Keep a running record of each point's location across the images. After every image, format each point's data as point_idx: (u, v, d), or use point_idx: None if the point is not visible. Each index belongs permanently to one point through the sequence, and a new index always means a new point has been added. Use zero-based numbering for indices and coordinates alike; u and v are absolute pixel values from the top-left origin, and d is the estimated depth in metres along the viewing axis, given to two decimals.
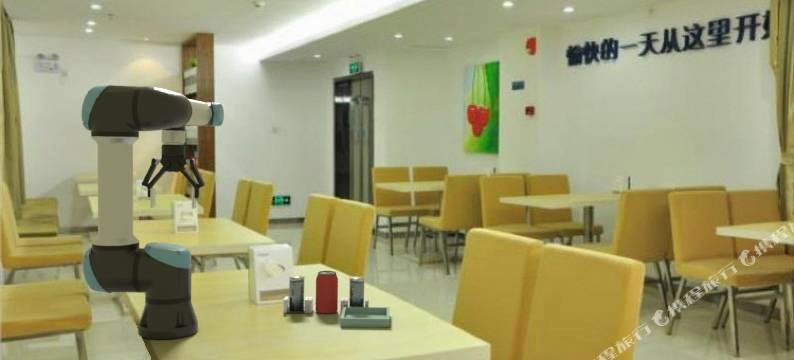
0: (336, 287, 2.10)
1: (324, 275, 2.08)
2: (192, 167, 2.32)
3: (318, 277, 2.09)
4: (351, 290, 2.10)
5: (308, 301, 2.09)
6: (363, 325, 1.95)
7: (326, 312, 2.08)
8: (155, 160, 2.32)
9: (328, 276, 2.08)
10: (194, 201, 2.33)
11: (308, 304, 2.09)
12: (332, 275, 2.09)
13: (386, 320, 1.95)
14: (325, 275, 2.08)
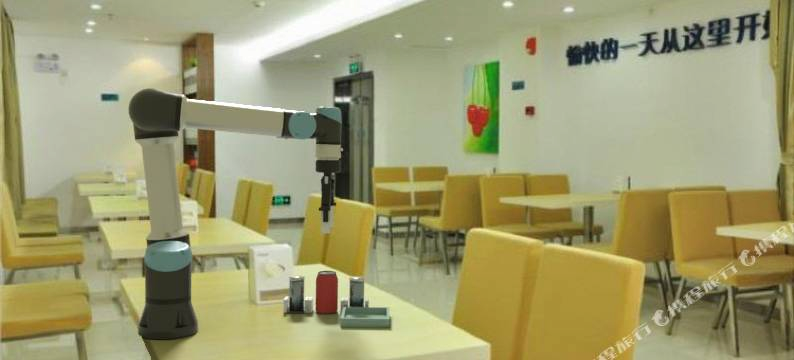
0: (336, 287, 2.10)
1: (324, 275, 2.08)
2: (322, 186, 2.03)
3: (318, 277, 2.09)
4: (351, 290, 2.10)
5: (308, 301, 2.09)
6: (363, 325, 1.95)
7: (326, 312, 2.08)
8: None
9: (328, 276, 2.08)
10: (322, 225, 2.03)
11: (308, 304, 2.09)
12: (332, 275, 2.09)
13: (386, 320, 1.95)
14: (325, 275, 2.08)
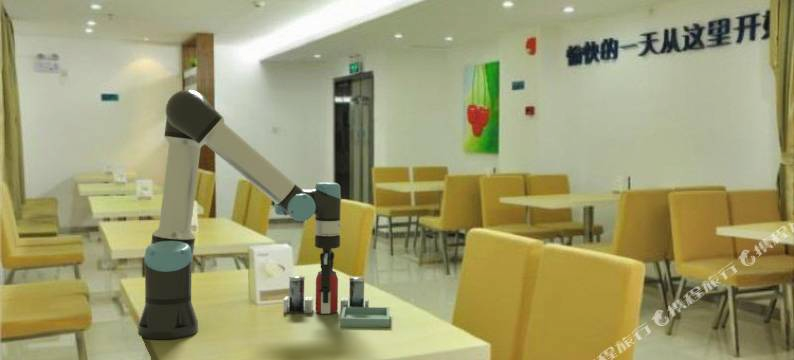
0: (336, 287, 2.10)
1: None
2: None
3: (318, 277, 2.09)
4: (351, 290, 2.10)
5: (308, 301, 2.09)
6: (363, 325, 1.95)
7: None
8: None
9: None
10: (322, 305, 2.07)
11: (308, 304, 2.09)
12: (332, 275, 2.09)
13: (386, 320, 1.95)
14: None
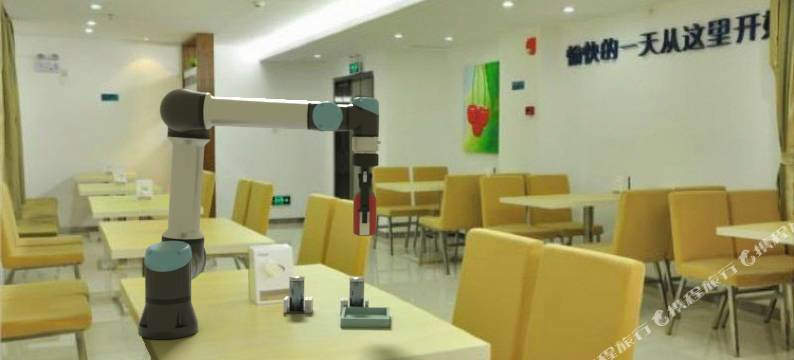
0: (375, 208, 2.00)
1: None
2: (360, 184, 1.94)
3: (356, 197, 1.99)
4: (351, 290, 2.10)
5: (308, 301, 2.09)
6: (363, 325, 1.95)
7: None
8: None
9: None
10: (361, 226, 1.97)
11: (308, 304, 2.09)
12: (371, 195, 1.98)
13: (386, 320, 1.95)
14: None
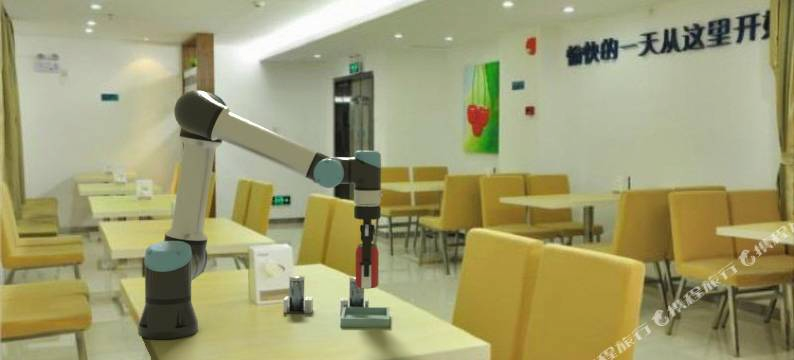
0: (377, 261, 2.00)
1: None
2: (362, 238, 1.95)
3: (358, 250, 1.99)
4: (351, 290, 2.10)
5: (308, 301, 2.09)
6: (363, 325, 1.95)
7: None
8: None
9: None
10: (363, 279, 1.97)
11: (308, 304, 2.09)
12: (373, 248, 1.98)
13: (386, 320, 1.95)
14: None
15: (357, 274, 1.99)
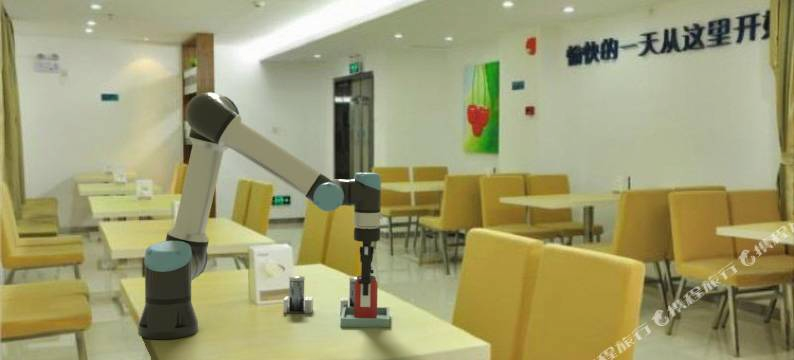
0: (376, 293, 2.01)
1: None
2: (361, 257, 1.94)
3: (357, 282, 2.00)
4: (351, 290, 2.10)
5: (308, 301, 2.09)
6: (363, 325, 1.95)
7: None
8: None
9: None
10: (362, 298, 1.94)
11: (308, 304, 2.09)
12: (372, 280, 1.99)
13: (386, 320, 1.95)
14: None
15: (356, 306, 2.00)
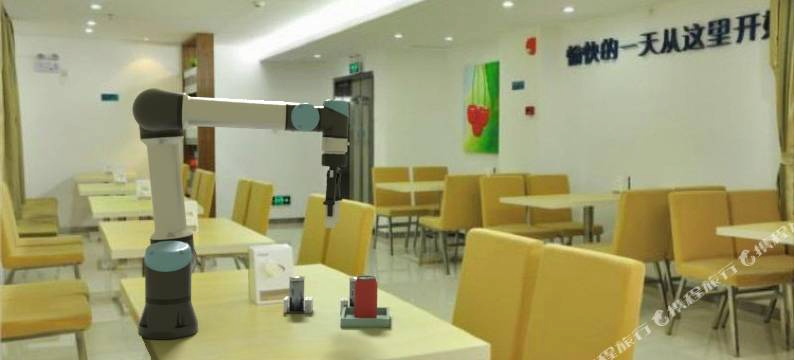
0: (376, 293, 2.00)
1: (364, 280, 1.99)
2: (327, 180, 2.00)
3: (357, 282, 2.00)
4: (351, 290, 2.10)
5: (308, 301, 2.09)
6: (363, 325, 1.95)
7: None
8: None
9: (368, 281, 1.99)
10: (327, 219, 2.00)
11: (308, 304, 2.09)
12: (372, 280, 1.99)
13: (386, 320, 1.95)
14: (365, 280, 1.99)
15: (356, 306, 2.00)
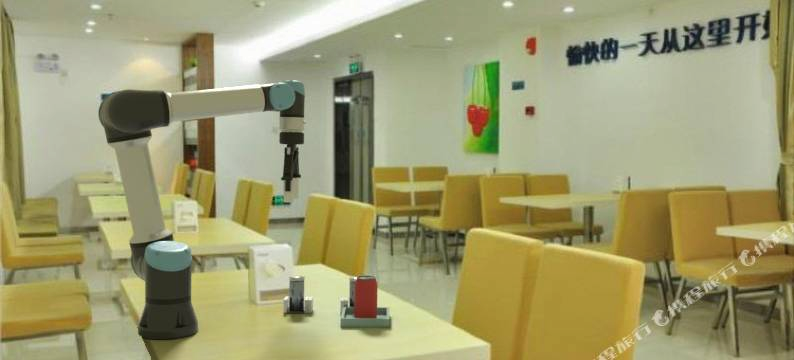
0: (376, 293, 2.00)
1: (364, 280, 1.99)
2: None
3: (357, 282, 2.00)
4: (351, 290, 2.10)
5: (308, 301, 2.09)
6: (363, 325, 1.95)
7: None
8: None
9: (368, 281, 1.99)
10: (285, 194, 2.10)
11: (308, 304, 2.09)
12: (372, 280, 1.99)
13: (386, 320, 1.95)
14: (365, 280, 1.99)
15: (356, 306, 2.00)
